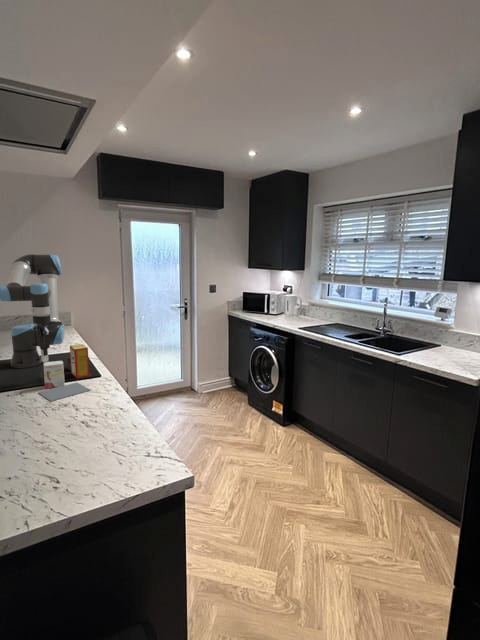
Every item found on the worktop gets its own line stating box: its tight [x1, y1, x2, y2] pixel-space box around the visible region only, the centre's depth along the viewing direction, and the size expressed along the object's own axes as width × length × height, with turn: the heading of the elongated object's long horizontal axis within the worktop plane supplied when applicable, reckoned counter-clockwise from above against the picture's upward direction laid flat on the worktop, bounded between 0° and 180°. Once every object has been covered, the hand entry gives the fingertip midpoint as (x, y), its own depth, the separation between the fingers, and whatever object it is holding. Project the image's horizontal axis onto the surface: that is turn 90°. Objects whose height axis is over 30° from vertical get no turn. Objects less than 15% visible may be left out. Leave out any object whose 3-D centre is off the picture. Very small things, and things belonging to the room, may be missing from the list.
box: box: [67, 356, 71, 371], centre depth 198 cm, size 6×6×7 cm
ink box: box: [42, 360, 66, 390], centre depth 172 cm, size 9×5×12 cm, turn 120°
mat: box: [38, 382, 91, 402], centre depth 166 cm, size 14×18×1 cm
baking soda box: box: [69, 343, 90, 379], centre depth 188 cm, size 10×6×16 cm
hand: (45, 361), depth 177 cm, fingers closed
